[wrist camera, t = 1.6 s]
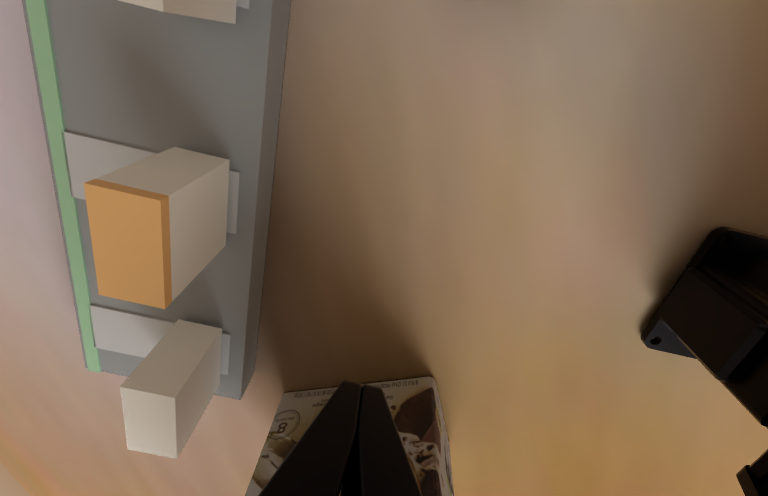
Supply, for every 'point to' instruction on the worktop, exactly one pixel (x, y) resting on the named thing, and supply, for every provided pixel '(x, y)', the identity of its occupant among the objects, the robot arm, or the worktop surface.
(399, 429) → the coffee box
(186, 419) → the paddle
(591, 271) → the worktop surface
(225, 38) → the breaker panel
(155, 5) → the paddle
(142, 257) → the block
